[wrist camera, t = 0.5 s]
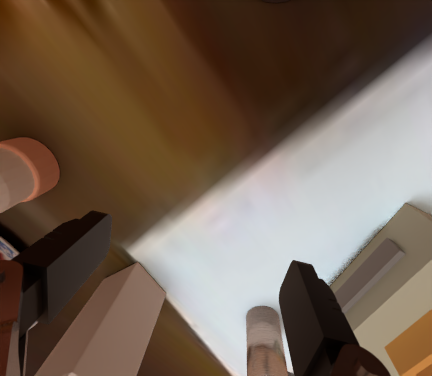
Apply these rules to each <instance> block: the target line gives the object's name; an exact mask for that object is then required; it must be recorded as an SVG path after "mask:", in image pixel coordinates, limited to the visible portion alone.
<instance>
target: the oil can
mask: <svg viewBox="0 0 432 376" xmlns="http://www.w3.org/2000/svg"><path fill="white" fill-rule="evenodd" d="M246 334H247V376H294V374H293V373H290V372H288V371H287V366H286V360H285V353H284V347H283V341H282V335H281V328H280V322H279V316H278V313H277V312H276V311H275V310H274V309H272V308H270V307H267V306H257V307H254V308H252V309H250V310H249V311H248V312H247V315H246Z"/></svg>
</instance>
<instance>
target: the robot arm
mask: <svg viewBox="0 0 432 376" xmlns="http://www.w3.org/2000/svg"><path fill="white" fill-rule="evenodd" d="M262 1H265V2H273V3H279V2H285V1H289V0H262ZM111 223H112V217H111V215H110V214H105V213H101V212H97V211H90V212H89V213H88V214H86V215H85V216H84V217H82V218H81V219H73V220H71V221H68V222H65V223H63V224H61V225H60V226H58V227H57V228H55V229H54V230H53V231H52V232H50V233H48V234H47V235H45V236H44V238H41V239H40V240H38V241H37V242H35V243H34V244H32V245H31V246H30V247H28V248H27V249H25V250H24V251H22V252H21V253H20V254H18V255H17V256H15V257H14V258H12V259H11V260H0V376H25V367H26V353H27V340H28V329H29V328H30V327H31V326H32V325H33V324H34V323H35V321H36V322H40V323H45V324H50V322H51V321H52V320H53V319H54V318H55V316H56V315H57V314H58V313H59V312H60V311H61V309H62V308H63V307H64V306H65V305H66V303H67V302H68V301H69V300H70V299H71V298H72V296H73V295H74V294H75V293H76V292H77V290H78V289H79V288H80V287H81V286H82V285H83V283H84V282H85V281H86V280H87V279H88V277H89V276H90V275H91V274H92V273H93V272H94V270H95V269H96V268H97V267H98V266H99V264H100V263H101V262H102V261H103V260H104V258H105V257H106V255H107V253H108V250H109V246H110V236H111ZM279 304H280V309H281V314H282V319H283V323H284V328H285V333H286V338H287V342H288V347H289V352H290V357H291V362H292V366H293V371H294V376H391V375H390V373H389V371H388V370H387V368H386V367H385V366H384V364H383V363H382V362H381V361H380V360H379V359H378V358H377V357H376V356H375V355H373V354H372V353H371V352H369V351H368V350H366V349H365V348H363V347H361V346H360V345H359V343H358V341H357V339H356V337H355V335H354V333H353V331H352V329H351V327H350V325H349V323H348V321H347V319H346V317H345V315H344V313H343V312H342V309H341V307H340V305H339V303H337V299H336V297H335V295H334V293H333V291H332V289H331V288H330V287H329V286H328V285H327V284H326V283H325V282H324V281H323V279H319V278H318V276H317V274H316V272H315V270H314V267H313V266H312V265H311V264H307V263H303V262H299V261H295V260H293V261H292V262H291V264H290V266H289V269H288V271H287V273H286V276H285V278H284V281H283V283H282V286H281V288H280V292H279Z"/></svg>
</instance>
